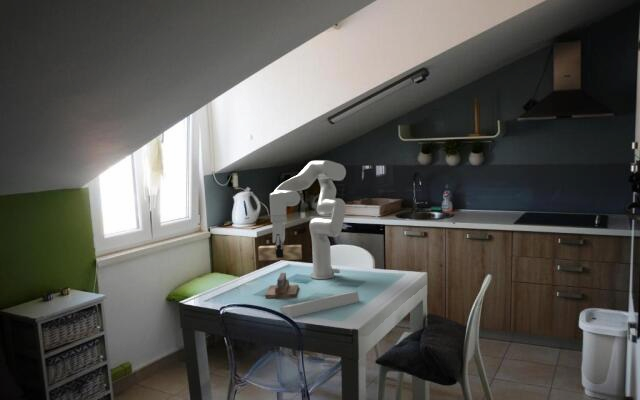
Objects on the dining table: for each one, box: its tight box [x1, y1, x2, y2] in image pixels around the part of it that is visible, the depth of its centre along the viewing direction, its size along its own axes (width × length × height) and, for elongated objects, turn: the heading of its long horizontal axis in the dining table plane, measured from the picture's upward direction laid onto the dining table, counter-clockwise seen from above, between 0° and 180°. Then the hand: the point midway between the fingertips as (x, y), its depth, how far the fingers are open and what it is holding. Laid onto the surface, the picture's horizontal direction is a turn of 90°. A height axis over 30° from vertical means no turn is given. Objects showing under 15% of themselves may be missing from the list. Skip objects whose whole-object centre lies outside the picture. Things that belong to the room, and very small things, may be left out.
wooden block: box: [257, 244, 303, 261], centre depth 247 cm, size 20×4×6 cm, turn 87°
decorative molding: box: [279, 291, 360, 318], centre depth 226 cm, size 34×5×10 cm
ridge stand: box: [264, 272, 300, 299], centre depth 249 cm, size 14×16×8 cm
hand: (280, 256), depth 247 cm, fingers closed on wooden block, 4 cm apart
